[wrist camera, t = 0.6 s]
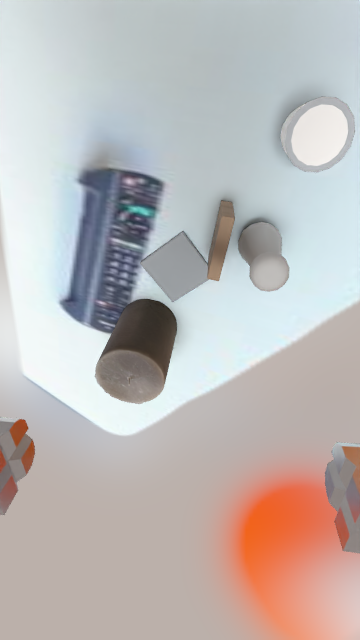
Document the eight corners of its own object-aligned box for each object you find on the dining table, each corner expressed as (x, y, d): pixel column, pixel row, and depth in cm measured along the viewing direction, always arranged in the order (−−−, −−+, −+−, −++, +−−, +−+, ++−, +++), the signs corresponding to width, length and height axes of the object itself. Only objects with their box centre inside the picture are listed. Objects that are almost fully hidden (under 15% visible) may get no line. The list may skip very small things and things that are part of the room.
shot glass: (346, 108, 39) (369, 107, 33) (318, 170, 42) (334, 180, 36) (289, 90, 38) (302, 86, 32) (266, 155, 42) (274, 162, 36)
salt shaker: (233, 254, 49) (237, 295, 38) (242, 214, 46) (250, 247, 35) (272, 260, 49) (288, 303, 38) (284, 221, 46) (305, 256, 35)
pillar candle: (165, 292, 53) (147, 348, 41) (184, 341, 58) (173, 405, 45) (111, 306, 56) (78, 363, 43) (133, 352, 60) (109, 415, 48)
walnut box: (218, 257, 49) (218, 281, 43) (208, 255, 49) (207, 278, 43) (232, 202, 45) (234, 218, 38) (221, 200, 45) (222, 216, 38)
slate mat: (141, 261, 51) (140, 263, 50) (183, 231, 48) (182, 232, 47) (173, 299, 54) (172, 302, 53) (214, 273, 51) (214, 275, 50)
